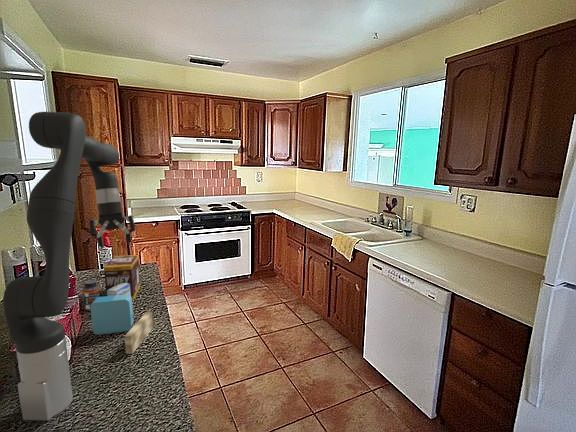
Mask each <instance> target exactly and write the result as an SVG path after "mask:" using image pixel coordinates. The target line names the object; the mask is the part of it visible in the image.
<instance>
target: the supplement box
mask: <svg viewBox="0 0 576 432" xmlns="http://www.w3.org/2000/svg"><path fill="white" fill-rule="evenodd" d="M103 272H104V284H105V293H106V296H107V290H109V289H111V288H112V287H114V286H116V285H118V284H120V283H128V284H130V293H131V297H132V301H134V299H135V297H136V295H137V294H138V293H139V290H140V287H141V279H140V278H141V277H140V276H141V275H140V262H139V255H138V254H132V255H131V254H130V255H128V254H127V255H114V256H112V258H111V259H110V260H109V261H108V262H107V263H106V264H105V265H104V267H103Z"/></svg>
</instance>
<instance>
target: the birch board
mask: <svg viewBox="0 0 576 432" xmlns="http://www.w3.org/2000/svg"><path fill="white" fill-rule="evenodd" d="M154 327H155V320H154V311H153V310H146V312H145V313H144V314H143V315H142V316H141V317H140V319H139V320H138V321H136V323H135V324H134V325H132V327H131V329H130V330H129V331H127V333H126V334H125V335H124V345H125V354H128V355H132V354H134V352H135V351H136V350H137V349H138V347H139V346H140V345H141V344H142V342H143V341H144V340H145V339H146V337H147V336H148V334H149V333H150V332H151V331H152V330H153V328H154Z"/></svg>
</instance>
